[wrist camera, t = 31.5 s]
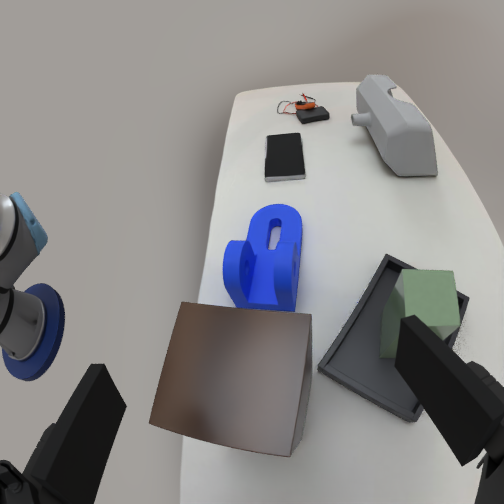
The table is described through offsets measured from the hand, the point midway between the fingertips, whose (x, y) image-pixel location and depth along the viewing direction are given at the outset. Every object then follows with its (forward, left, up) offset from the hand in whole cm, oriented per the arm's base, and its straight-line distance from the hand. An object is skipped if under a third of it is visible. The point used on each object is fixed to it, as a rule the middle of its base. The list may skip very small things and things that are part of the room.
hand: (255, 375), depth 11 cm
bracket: (-16, +17, -25) cm, 34 cm away
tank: (-11, +55, -25) cm, 61 cm away
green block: (+7, +15, -25) cm, 30 cm away
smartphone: (-28, +38, -25) cm, 54 cm away
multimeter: (-37, +59, -25) cm, 74 cm away
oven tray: (+7, +15, -25) cm, 30 cm away
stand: (-3, -1, -25) cm, 25 cm away
